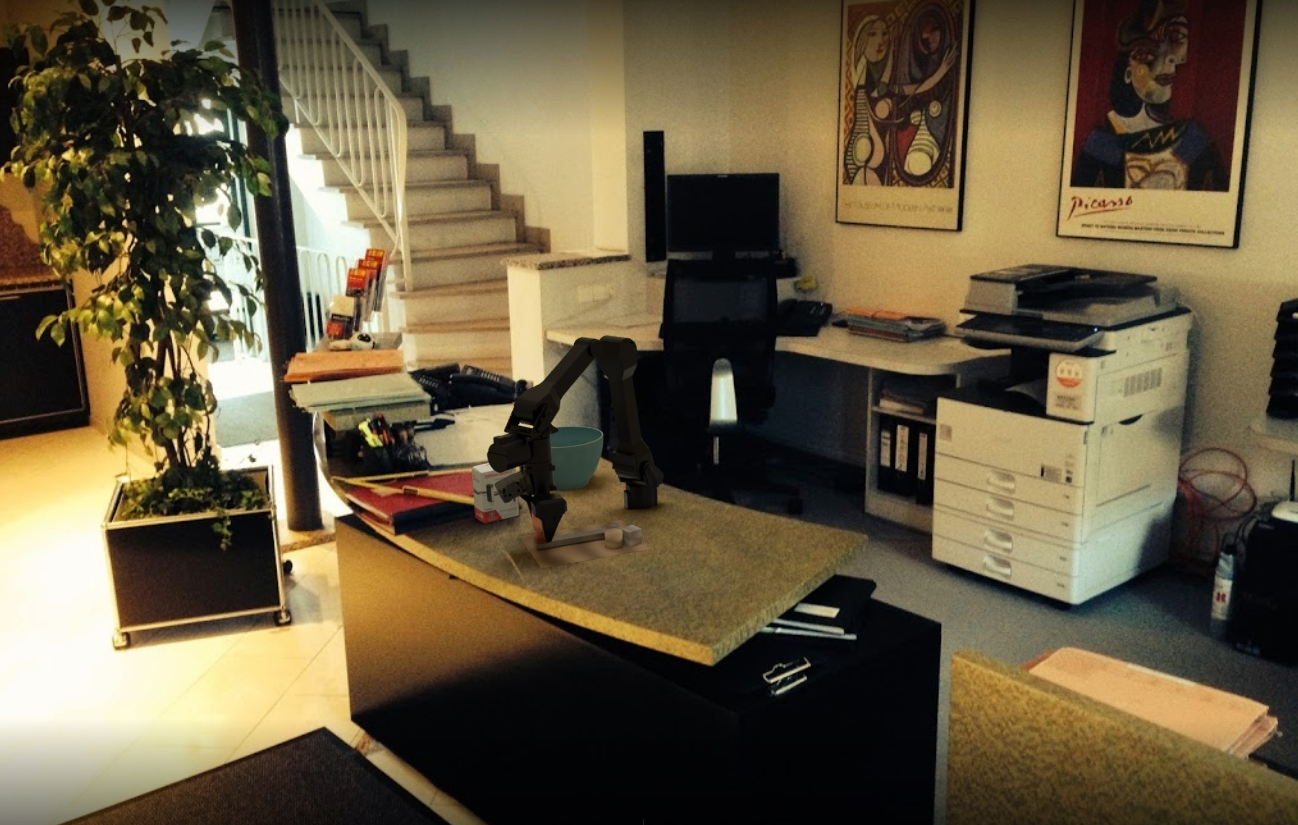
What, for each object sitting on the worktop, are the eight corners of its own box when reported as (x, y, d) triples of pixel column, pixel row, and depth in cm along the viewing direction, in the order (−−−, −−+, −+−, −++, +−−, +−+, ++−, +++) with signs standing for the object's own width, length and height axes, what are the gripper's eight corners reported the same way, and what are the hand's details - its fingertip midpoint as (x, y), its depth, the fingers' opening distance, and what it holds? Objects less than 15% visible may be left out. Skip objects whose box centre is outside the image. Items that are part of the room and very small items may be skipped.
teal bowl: (512, 491, 259) (508, 441, 255) (561, 470, 273) (558, 421, 270) (573, 503, 248) (569, 451, 245) (621, 480, 263) (618, 431, 260)
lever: (605, 532, 226) (603, 496, 224) (610, 538, 223) (608, 502, 221) (532, 544, 221) (529, 508, 219) (536, 550, 218) (534, 513, 216)
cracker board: (622, 525, 234) (621, 506, 233) (650, 554, 218) (649, 534, 217) (519, 542, 227) (518, 522, 226) (541, 573, 211) (540, 553, 210)
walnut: (619, 541, 222) (619, 527, 221) (625, 547, 219) (624, 533, 218) (603, 544, 221) (602, 530, 220) (608, 550, 218) (607, 535, 217)
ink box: (484, 524, 238) (480, 471, 235) (474, 518, 242) (470, 466, 239) (520, 515, 243) (516, 463, 240) (510, 509, 247) (506, 458, 244)
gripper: (486, 452, 222) (492, 525, 226) (507, 478, 205) (513, 557, 209) (540, 444, 225) (546, 517, 229) (565, 470, 208) (570, 548, 212)
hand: (542, 534), depth 220 cm, fingers open, 9 cm apart
